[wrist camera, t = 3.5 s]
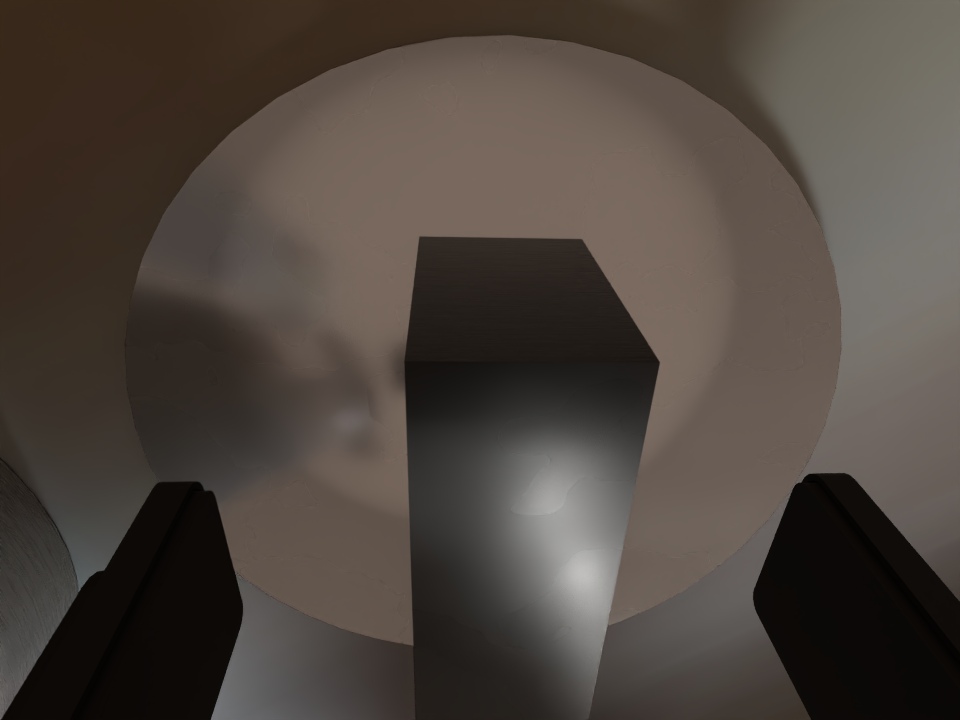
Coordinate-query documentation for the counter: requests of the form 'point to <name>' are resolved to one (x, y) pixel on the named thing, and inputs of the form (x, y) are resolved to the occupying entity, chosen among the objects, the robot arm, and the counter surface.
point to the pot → (28, 583)
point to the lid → (486, 354)
